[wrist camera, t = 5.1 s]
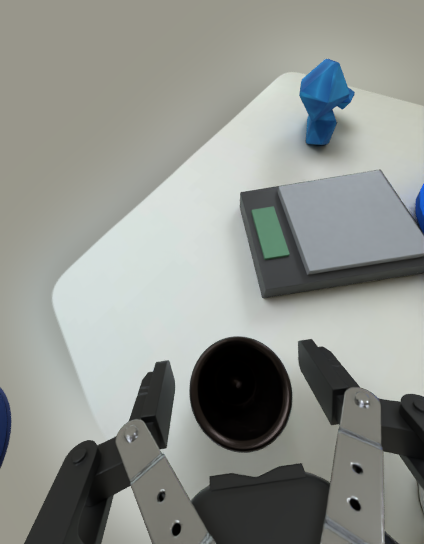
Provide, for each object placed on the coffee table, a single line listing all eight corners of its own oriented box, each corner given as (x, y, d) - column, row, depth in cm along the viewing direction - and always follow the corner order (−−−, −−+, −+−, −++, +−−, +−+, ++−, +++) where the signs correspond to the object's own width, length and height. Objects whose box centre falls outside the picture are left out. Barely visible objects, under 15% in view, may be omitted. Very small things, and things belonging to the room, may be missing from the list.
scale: (262, 298, 22) (267, 286, 19) (239, 206, 27) (240, 186, 24) (422, 273, 22) (451, 257, 19) (368, 185, 27) (385, 163, 24)
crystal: (362, 47, 28) (392, 68, 20) (334, 126, 34) (349, 162, 27) (301, 49, 29) (309, 69, 21) (286, 125, 35) (288, 159, 28)
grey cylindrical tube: (273, 383, 19) (315, 393, 9) (235, 426, 18) (240, 485, 8) (235, 343, 20) (239, 316, 11) (198, 379, 19) (168, 384, 10)
